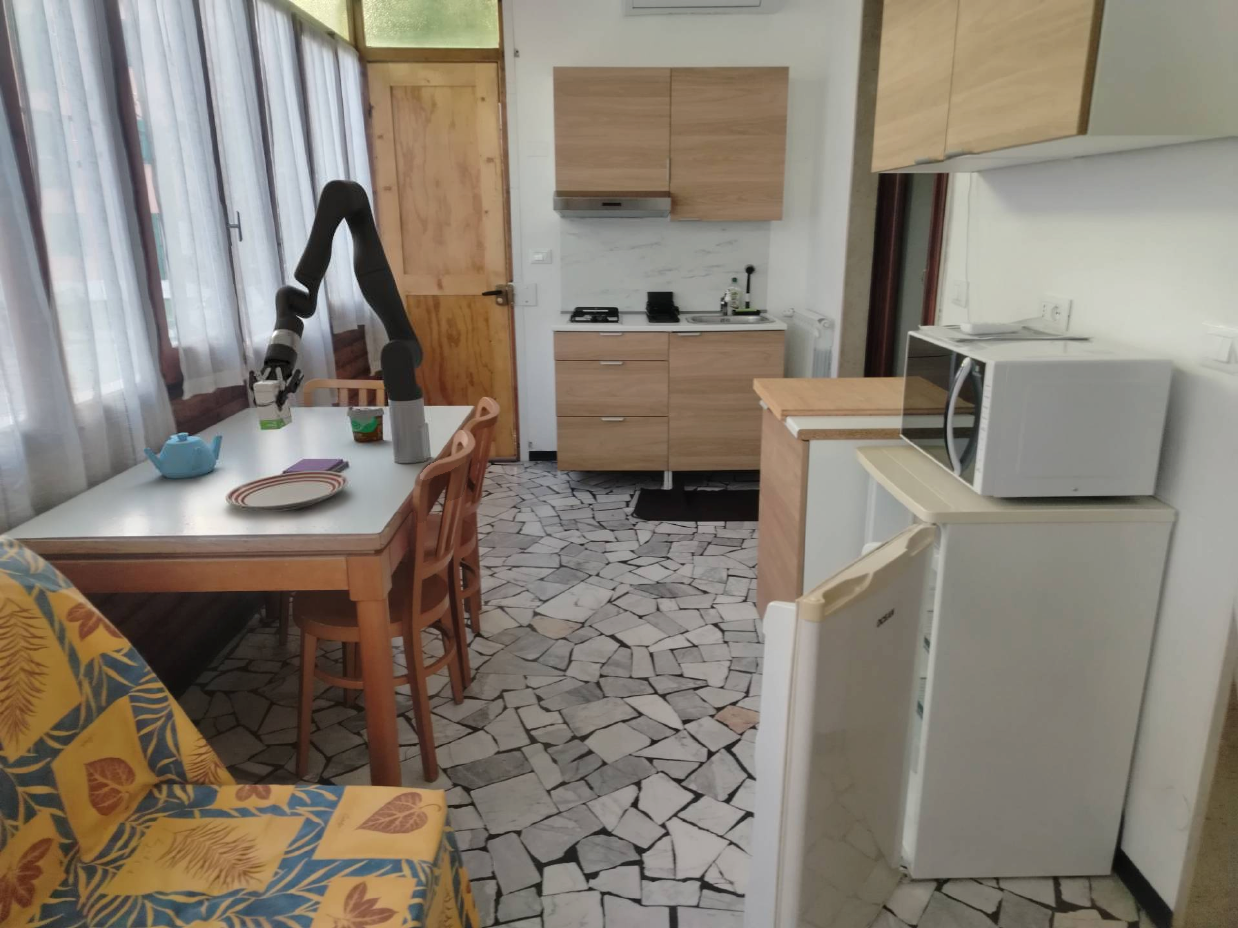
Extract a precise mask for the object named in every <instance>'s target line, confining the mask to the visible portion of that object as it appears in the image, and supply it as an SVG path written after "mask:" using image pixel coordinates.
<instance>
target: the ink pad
mask: <svg viewBox="0 0 1238 928" xmlns="http://www.w3.org/2000/svg"><path fill="white" fill-rule="evenodd" d="M349 463H350V462H349V460H344V459H343V458H303V459H301V460H300V461H298V462H296V463H294V464H292V465H291V466H289V467H287V468H286V469H284V470H282V472H281V473H280V474H286V473H293V472H304V471H330V472H336V473H341V471H343V470H344V469H346V468H348V467H349Z"/></svg>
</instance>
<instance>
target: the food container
mask: <svg viewBox="0 0 1238 928" xmlns="http://www.w3.org/2000/svg"><path fill="white" fill-rule="evenodd" d="M383 415H385V412H384V409H383V407H380V408H375V409H373V408H366V407H364V408H354V407H353V405H350V406H348V407H347V410H346V416H347V417H349V422H350V426H351V431H352V436H353V440H354V442H356V443H362V444H363V443H364V444H365V443H374V442H380V441H383V440H384V416H383Z"/></svg>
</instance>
